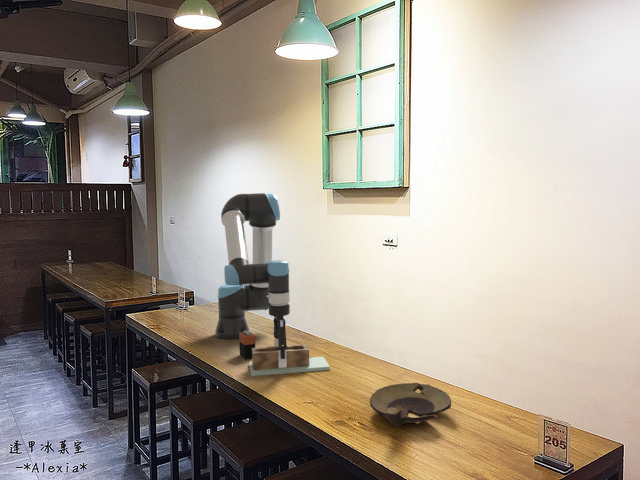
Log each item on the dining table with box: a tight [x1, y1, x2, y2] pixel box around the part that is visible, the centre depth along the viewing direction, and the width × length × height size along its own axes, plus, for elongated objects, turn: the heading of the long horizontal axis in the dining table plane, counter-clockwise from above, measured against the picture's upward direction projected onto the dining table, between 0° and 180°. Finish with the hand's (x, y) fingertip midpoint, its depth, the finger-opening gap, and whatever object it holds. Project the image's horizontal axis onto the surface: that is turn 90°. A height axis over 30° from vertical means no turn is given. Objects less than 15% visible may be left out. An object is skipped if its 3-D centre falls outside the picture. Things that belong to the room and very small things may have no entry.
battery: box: [238, 330, 256, 360], centre depth 208 cm, size 4×7×10 cm, turn 29°
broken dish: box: [369, 382, 452, 428], centre depth 150 cm, size 22×30×8 cm
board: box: [248, 356, 331, 377], centre depth 194 cm, size 28×12×4 cm, turn 101°
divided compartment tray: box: [251, 343, 310, 370], centre depth 193 cm, size 20×7×6 cm, turn 101°
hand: (280, 361), depth 193 cm, fingers open, 13 cm apart
